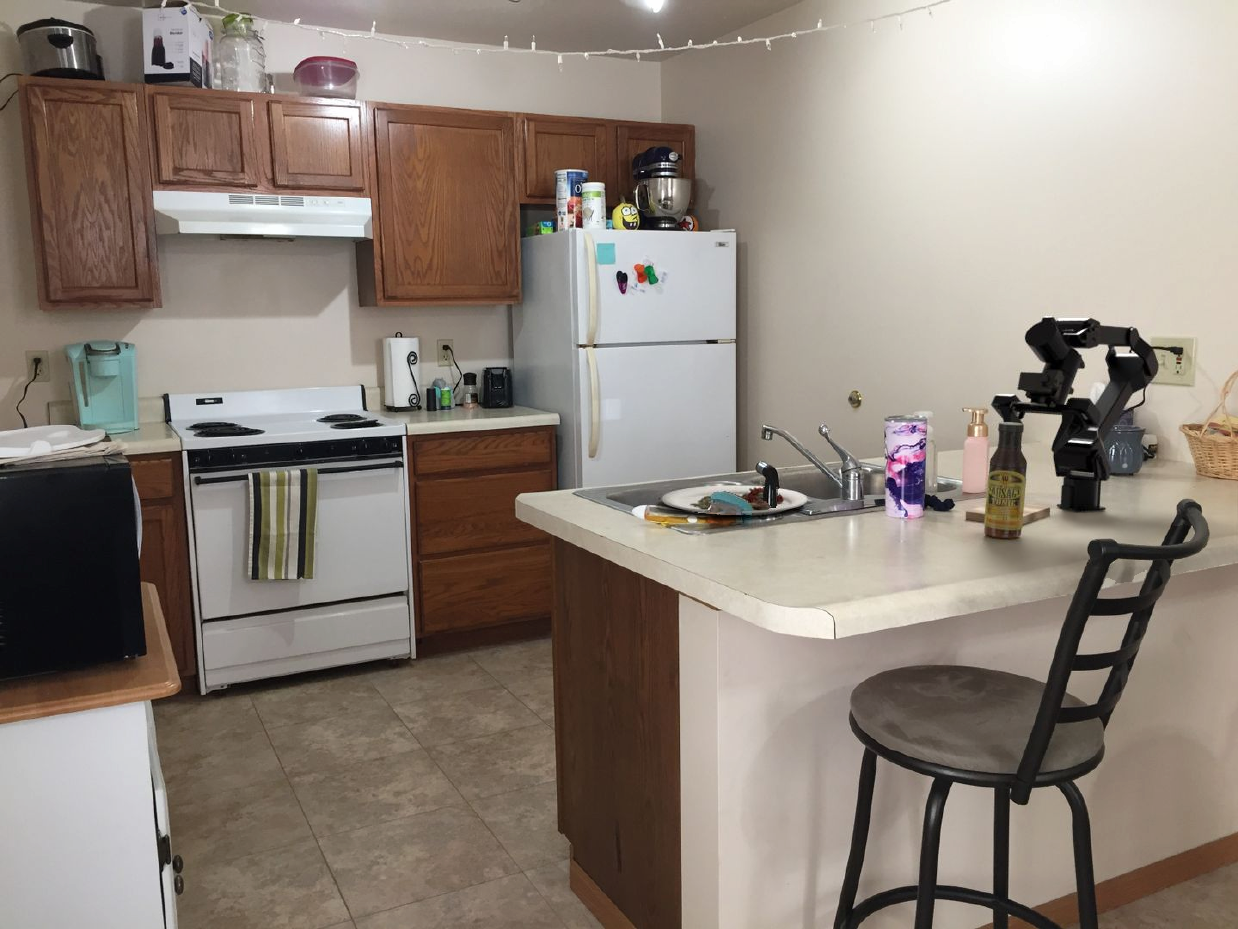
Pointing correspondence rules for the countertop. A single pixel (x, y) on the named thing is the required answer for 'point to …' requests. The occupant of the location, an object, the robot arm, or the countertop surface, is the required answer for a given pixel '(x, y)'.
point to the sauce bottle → (1006, 484)
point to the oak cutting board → (1028, 514)
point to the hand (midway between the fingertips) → (1029, 449)
